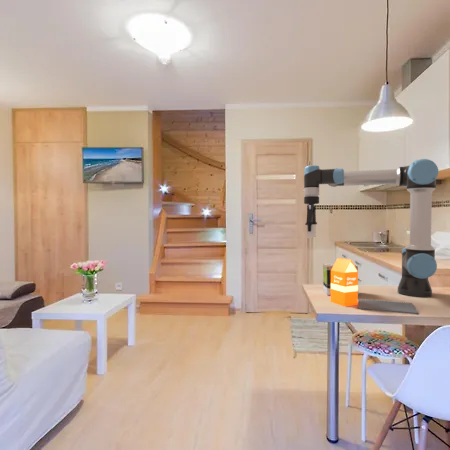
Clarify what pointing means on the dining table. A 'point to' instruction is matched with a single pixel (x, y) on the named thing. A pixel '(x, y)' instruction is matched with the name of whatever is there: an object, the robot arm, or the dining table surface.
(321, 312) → the dining table surface
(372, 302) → the mat
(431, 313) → the dining table surface
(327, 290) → the tea box
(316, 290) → the dining table surface
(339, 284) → the orange juice
